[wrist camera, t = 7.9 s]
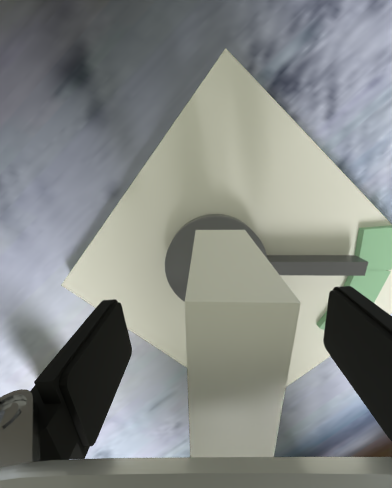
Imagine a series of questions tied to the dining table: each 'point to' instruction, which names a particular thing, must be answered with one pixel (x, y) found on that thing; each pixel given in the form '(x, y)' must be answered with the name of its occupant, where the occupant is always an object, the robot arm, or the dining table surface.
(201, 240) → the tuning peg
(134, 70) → the dining table surface
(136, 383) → the dining table surface
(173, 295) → the dial board
